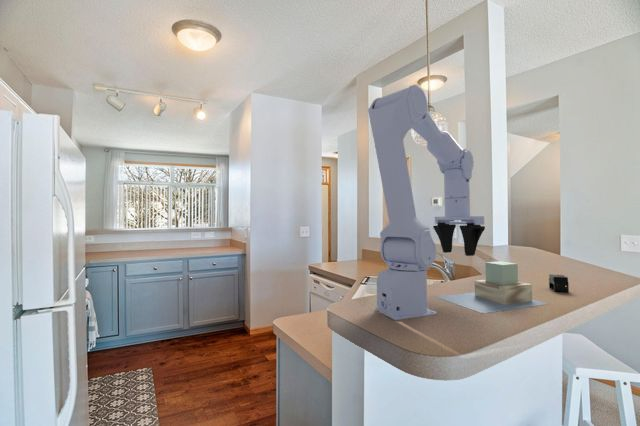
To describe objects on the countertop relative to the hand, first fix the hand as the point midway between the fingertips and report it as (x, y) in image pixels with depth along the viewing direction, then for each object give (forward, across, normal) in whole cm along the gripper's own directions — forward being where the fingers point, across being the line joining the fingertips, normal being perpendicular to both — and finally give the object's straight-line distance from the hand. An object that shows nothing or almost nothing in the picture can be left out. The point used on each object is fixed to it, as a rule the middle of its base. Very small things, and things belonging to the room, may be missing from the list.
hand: (458, 253), depth 79 cm
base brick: (+10, -8, -5) cm, 13 cm away
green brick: (+6, -8, -5) cm, 11 cm away
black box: (+11, -7, -24) cm, 27 cm away
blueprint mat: (+10, -8, -1) cm, 13 cm away
